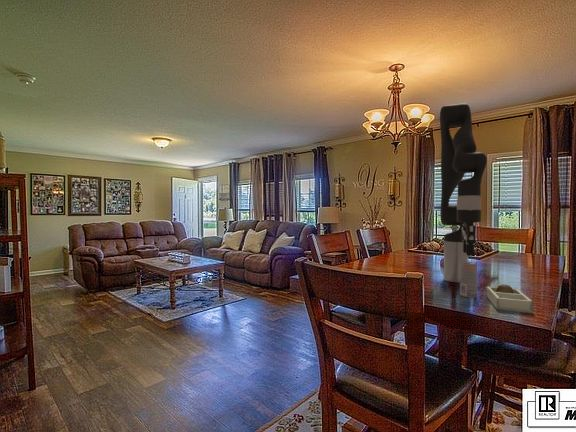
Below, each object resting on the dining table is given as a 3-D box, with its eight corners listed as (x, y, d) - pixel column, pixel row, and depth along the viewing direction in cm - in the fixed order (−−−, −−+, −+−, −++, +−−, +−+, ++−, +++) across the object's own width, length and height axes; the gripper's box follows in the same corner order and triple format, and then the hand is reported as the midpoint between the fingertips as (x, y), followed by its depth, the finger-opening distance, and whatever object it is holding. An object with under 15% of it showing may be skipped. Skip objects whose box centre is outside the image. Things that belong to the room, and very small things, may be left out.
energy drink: (472, 294, 113) (472, 261, 113) (480, 298, 108) (480, 264, 108) (457, 293, 114) (457, 261, 114) (463, 297, 109) (464, 263, 108)
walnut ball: (494, 296, 108) (494, 282, 108) (511, 297, 106) (511, 283, 106) (498, 299, 104) (498, 285, 104) (515, 301, 102) (515, 286, 102)
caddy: (486, 296, 111) (486, 286, 110) (517, 299, 107) (517, 289, 107) (497, 309, 96) (497, 298, 96) (533, 313, 92) (533, 301, 92)
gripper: (454, 209, 119) (454, 251, 119) (459, 208, 106) (458, 256, 106) (477, 209, 116) (477, 252, 116) (484, 208, 103) (484, 257, 103)
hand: (468, 254), depth 111 cm, fingers open, 8 cm apart
